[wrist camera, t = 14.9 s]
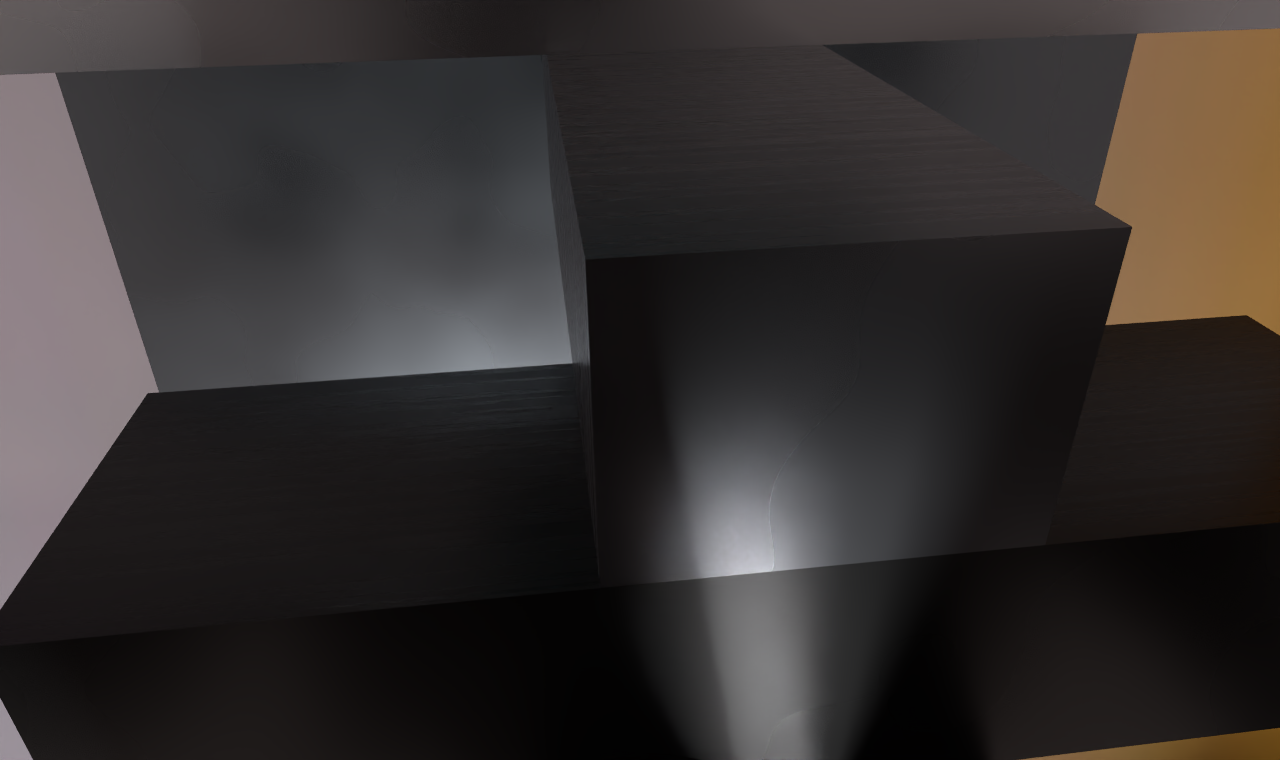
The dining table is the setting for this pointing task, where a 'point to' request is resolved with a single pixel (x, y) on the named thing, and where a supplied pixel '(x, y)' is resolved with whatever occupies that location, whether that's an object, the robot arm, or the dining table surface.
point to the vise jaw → (690, 438)
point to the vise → (437, 197)
